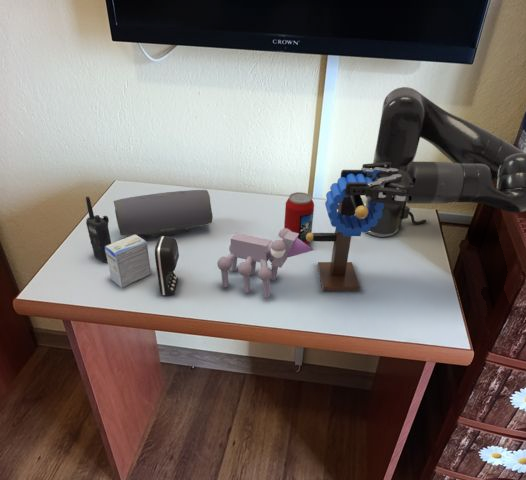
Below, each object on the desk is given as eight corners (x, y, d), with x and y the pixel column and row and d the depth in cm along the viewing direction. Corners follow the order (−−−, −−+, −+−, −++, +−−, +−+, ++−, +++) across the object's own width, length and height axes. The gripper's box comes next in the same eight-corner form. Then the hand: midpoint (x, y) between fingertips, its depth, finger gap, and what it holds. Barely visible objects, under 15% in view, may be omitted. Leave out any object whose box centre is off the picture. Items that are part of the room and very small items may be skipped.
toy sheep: (315, 283, 113) (321, 228, 104) (301, 310, 105) (307, 254, 96) (232, 264, 117) (231, 210, 108) (214, 289, 110) (211, 234, 101)
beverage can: (308, 251, 123) (313, 205, 115) (281, 247, 124) (283, 202, 116) (312, 237, 128) (316, 192, 120) (285, 234, 129) (288, 189, 120)
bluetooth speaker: (205, 217, 134) (203, 181, 127) (213, 234, 128) (212, 197, 121) (118, 228, 128) (111, 191, 122) (122, 247, 122) (115, 209, 115)
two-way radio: (91, 256, 119) (77, 196, 108) (106, 249, 121) (94, 189, 111) (105, 265, 116) (92, 204, 106) (121, 257, 119) (110, 197, 108)
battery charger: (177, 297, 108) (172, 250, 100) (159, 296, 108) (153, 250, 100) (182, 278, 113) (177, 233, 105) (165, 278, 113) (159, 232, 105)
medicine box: (140, 266, 116) (135, 233, 110) (152, 274, 114) (147, 240, 108) (110, 280, 112) (103, 245, 106) (122, 288, 109) (115, 254, 104)
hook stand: (300, 266, 118) (309, 169, 102) (351, 266, 118) (367, 169, 103) (308, 311, 105) (319, 208, 89) (364, 311, 106) (385, 209, 90)
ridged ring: (322, 223, 103) (328, 173, 96) (373, 224, 103) (382, 173, 96) (325, 236, 99) (332, 184, 92) (378, 236, 100) (388, 185, 92)
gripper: (438, 219, 92) (346, 218, 92) (417, 185, 103) (335, 184, 102) (449, 179, 87) (352, 179, 86) (426, 148, 98) (340, 147, 97)
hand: (343, 182), depth 94 cm, fingers closed on ridged ring, 5 cm apart
